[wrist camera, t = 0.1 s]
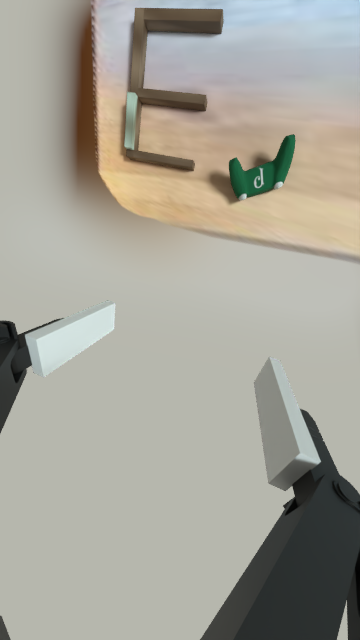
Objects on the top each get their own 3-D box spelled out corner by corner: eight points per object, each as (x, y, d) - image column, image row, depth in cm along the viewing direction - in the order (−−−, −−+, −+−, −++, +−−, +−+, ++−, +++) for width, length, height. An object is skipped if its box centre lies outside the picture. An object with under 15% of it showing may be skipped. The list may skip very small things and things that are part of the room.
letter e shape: (140, 19, 27) (132, 1, 24) (223, 22, 24) (222, 1, 22) (130, 159, 34) (124, 153, 32) (193, 170, 32) (190, 165, 30)
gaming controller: (228, 162, 29) (232, 202, 33) (228, 159, 26) (232, 204, 30) (289, 137, 26) (287, 184, 29) (297, 130, 23) (293, 184, 26)
